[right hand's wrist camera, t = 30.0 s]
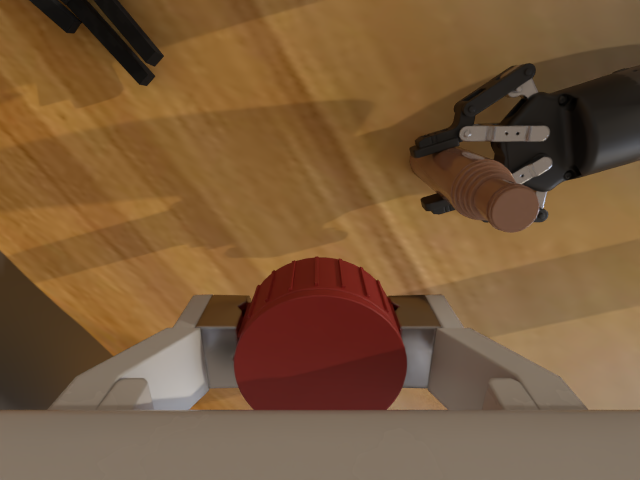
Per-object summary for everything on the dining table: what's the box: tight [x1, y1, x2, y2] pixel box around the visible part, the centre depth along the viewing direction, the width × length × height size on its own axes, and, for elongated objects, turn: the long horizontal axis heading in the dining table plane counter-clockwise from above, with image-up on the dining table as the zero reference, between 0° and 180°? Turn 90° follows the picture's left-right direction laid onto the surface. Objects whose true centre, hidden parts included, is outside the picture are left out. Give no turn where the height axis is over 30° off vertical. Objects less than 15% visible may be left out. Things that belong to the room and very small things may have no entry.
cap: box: [234, 257, 407, 410], centre depth 9 cm, size 4×4×2 cm
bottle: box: [410, 146, 540, 232], centre depth 29 cm, size 4×4×18 cm
